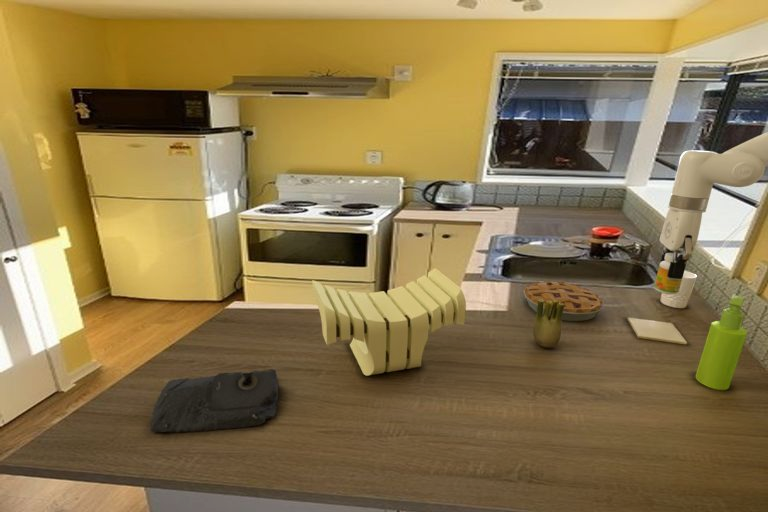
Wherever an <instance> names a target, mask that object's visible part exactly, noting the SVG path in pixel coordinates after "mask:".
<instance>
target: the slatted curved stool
mask: <svg viewBox="0 0 768 512" xmlns="http://www.w3.org/2000/svg"><path fill="white" fill-rule="evenodd" d="M311 281H312V293H313V296H314V298H315V302H316V304H317V307H318V311H319V315H320V320H321V329H322V330H321V331H322V337H323V339H324V342H325V344H326V346H329V345H332V344H334V343H337V338H339V339H340V341H341V342H342V341H349V340H351V336H352V337H353V338H352V341H351V342H350V343H349V347H350V349H351V352H352V353H353V355H354V357H355V359H356V362H357V363H358V365H359V368H360V369H361V372H362V374H363V375H365V376H367V377H368V376H373V375H379V374H384V373H392V372H397V371H402V370H403V371H404V370H405V369H407V370H408V369H409V370H410V369H413V368H420V367H422V358H423V353H424V351H425V350H424V349H425V347H426V344H427V342H428V340H429V330H430V332H431V333H434V332H435V331H437V330H438V329H440V328H442V325H444V327H446V326H453V325H454V324H455V325H457V326H465V324H466V323H465V321H466V312H467V301H466V297H465V294H464V292H463V290H462V288H461V287H460V286H459V285H457V284H456V283H455V282H454V281H453V280H451V279H450V278H449V277H447V276H446V275H444V273H442V272H441V271H440V270H438V269H437V268H436V267H435V268H433V269H431V270H430V271H428V272H427V275H425V274H423V275H422V276H420V277H418V278H416V282H415V281H414V280H412V281H410V282H408V283H406V284H405V287H404V286H403V285H400V286H397V287H395V288H394V287H393V288H391V289H388V290H387V292H385V291H384V290H383V291H382V290H381V291H373V292H368V295H367V293H366V292H359V291H348V292H349V293H347V291H346V290H345V289H340V288H337V289H336V290H337V291H335V289H334V287H332V286H329V285H326V284H324V287H323V285H322V283H321V282H320V281H319V282H318V281H316V280H313V279H312V280H311Z"/></svg>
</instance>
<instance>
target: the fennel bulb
mask: <svg viewBox="0 0 768 512" xmlns="http://www.w3.org/2000/svg"><path fill="white" fill-rule="evenodd" d="M551 304H552V301H546V305H545V310H544V314H543V300H538V307H537V312H536V315H535V319H534V323H533V338H534V341H535V343H536V344H538V345H539V346H540V347H541V348H544V349H554V348H555V347H556V346H557V345H558V344H559V343H560V341H561V338H562V337H561V336H562V320H561V317H562V313H563V309H564V306H565V305H564V304H563V303H560V302H559V304H558V301H556V300H553V305H552V310H551V314H550V316H549V313H550V309H551ZM557 304H558V307H557Z"/></svg>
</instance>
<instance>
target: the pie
mask: <svg viewBox="0 0 768 512" xmlns="http://www.w3.org/2000/svg"><path fill="white" fill-rule="evenodd" d="M523 295H524V298H525V299H526V301H527V303H528V306H529V307H530V308H531V309H533V311H534V312H536V313H537V307H538V300H543V314H544V310H545V305H546V301H552V304H551V309H550V313H549V316H550V314H551V310H552V305H553V300H556V301H558V304H559V302H560V303H563V304H564V305H565V306H564V309H563V313H562V317H561V321H565V322H566V321H568V322H583V321H584V322H585V321H588V320H591V319H594V318H595V316H596V315H597V314H598V313H599V312H601V311H602V309H603V308H604V304H603V301H602V298H600V297H599V295H598V294H597V293H595V292H591V291H590V289H588V288H586V287H580V286H579V285H578V284H575V283H571V284H569V283H565V282H564V281H560V280H559V281H557V282H553V281H551V280H545V281H544V282H543V281H542V282H541V281H534V282H532V283H528V284H526V287H525V288H524V289H523ZM558 304H557V307H558Z"/></svg>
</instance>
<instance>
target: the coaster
mask: <svg viewBox="0 0 768 512" xmlns="http://www.w3.org/2000/svg"><path fill="white" fill-rule="evenodd" d="M627 321H628V323H629V324H630V327H631V328H632V330H633V332H634V333H635V335H636V336H637V338H638V339H644V340H652V341H659V342H666V343H673V344H679V345H680V344H681V345H688V341H686V339H685V337H684V336H683V335H682V334H681V332H680V331H679V330H678V328H676V326H675V325H674V324H673V323H672V322H665V321H658V320H650V319H643V318H635V317H627Z"/></svg>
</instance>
